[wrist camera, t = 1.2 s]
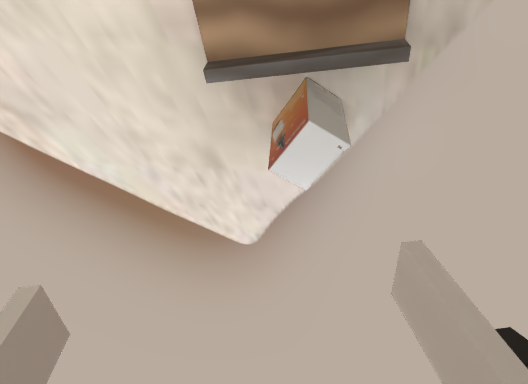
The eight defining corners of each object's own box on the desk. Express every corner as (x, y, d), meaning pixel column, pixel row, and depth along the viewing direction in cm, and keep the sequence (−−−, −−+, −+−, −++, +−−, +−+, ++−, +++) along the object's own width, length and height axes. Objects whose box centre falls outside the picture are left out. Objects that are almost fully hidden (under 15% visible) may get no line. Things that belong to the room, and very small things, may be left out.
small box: (306, 75, 39) (309, 118, 31) (341, 99, 41) (353, 145, 33) (271, 123, 44) (266, 171, 36) (304, 143, 46) (306, 192, 38)
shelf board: (183, -51, 31) (172, -46, 29) (419, -91, 28) (432, -90, 26) (212, 71, 39) (206, 84, 37) (399, 50, 36) (408, 62, 34)
